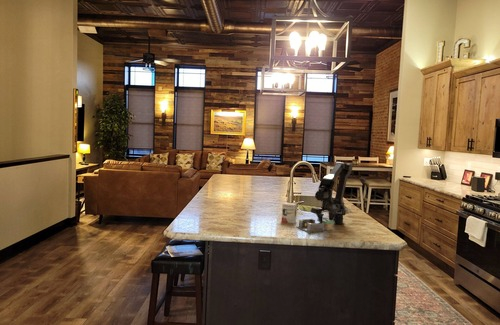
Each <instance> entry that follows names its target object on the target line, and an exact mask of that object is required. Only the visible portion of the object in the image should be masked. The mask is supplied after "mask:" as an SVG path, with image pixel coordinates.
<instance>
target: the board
mask: <svg viewBox="0 0 500 325" xmlns="http://www.w3.org/2000/svg"><path fill="white" fill-rule="evenodd" d="M316 221H317V222H319V219H318V218H317V219H316ZM334 222H335V221H333V220H330V219H329V217H328V218H327V217H325V216H323V220H322V223H324V224H332V225H335V224H334Z"/></svg>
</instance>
